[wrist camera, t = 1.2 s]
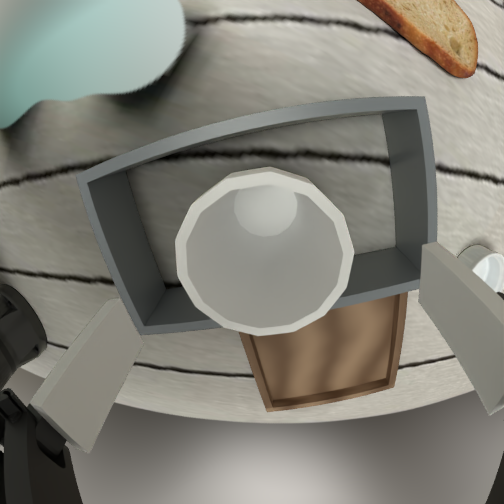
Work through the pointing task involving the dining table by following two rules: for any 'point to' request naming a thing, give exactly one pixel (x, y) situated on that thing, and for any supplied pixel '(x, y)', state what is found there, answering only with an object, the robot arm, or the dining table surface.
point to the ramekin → (485, 265)
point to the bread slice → (433, 30)
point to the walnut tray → (330, 355)
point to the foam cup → (264, 252)
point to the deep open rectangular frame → (392, 109)
